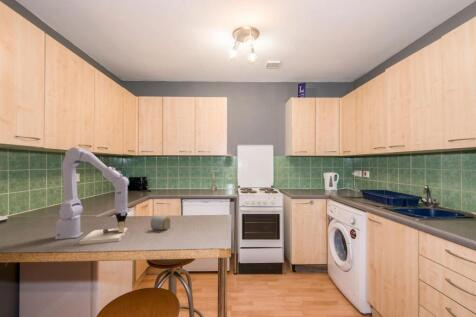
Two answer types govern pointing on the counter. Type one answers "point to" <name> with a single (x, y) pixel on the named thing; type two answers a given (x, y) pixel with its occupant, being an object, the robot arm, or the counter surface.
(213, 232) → the counter surface
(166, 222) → the grey cylinder
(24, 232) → the counter surface
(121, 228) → the wooden handled crank
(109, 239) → the board
